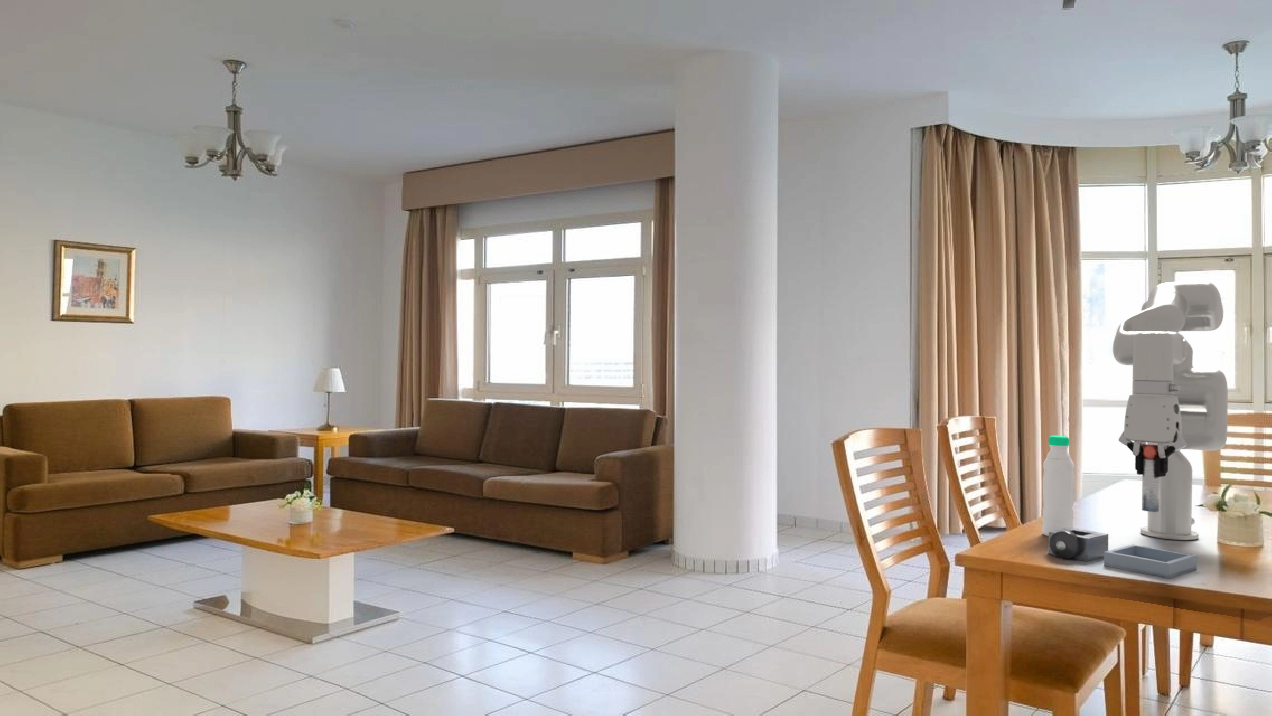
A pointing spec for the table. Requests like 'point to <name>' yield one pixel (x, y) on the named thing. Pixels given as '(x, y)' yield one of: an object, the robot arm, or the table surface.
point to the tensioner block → (1077, 544)
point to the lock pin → (1150, 479)
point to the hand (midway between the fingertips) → (1151, 474)
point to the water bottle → (1058, 486)
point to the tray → (1150, 561)
